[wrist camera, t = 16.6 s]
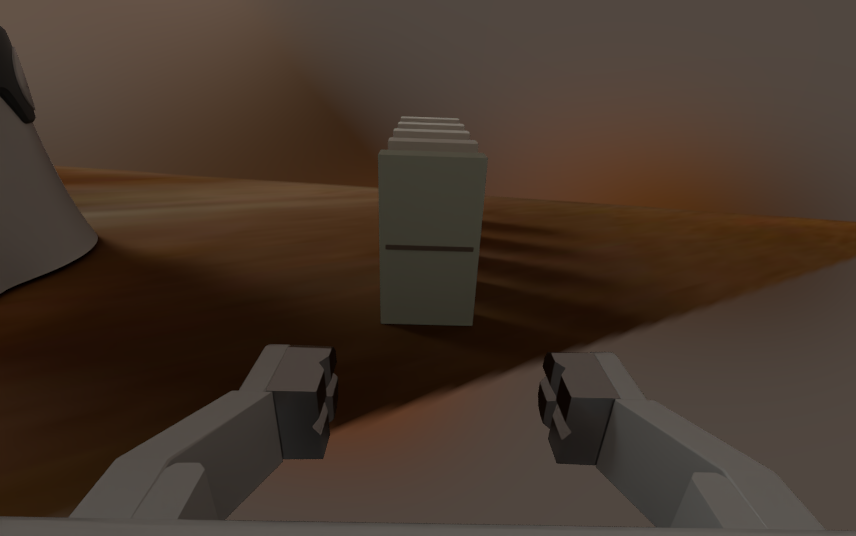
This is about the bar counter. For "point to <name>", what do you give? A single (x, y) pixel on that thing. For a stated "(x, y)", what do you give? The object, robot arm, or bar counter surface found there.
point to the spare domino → (429, 235)
